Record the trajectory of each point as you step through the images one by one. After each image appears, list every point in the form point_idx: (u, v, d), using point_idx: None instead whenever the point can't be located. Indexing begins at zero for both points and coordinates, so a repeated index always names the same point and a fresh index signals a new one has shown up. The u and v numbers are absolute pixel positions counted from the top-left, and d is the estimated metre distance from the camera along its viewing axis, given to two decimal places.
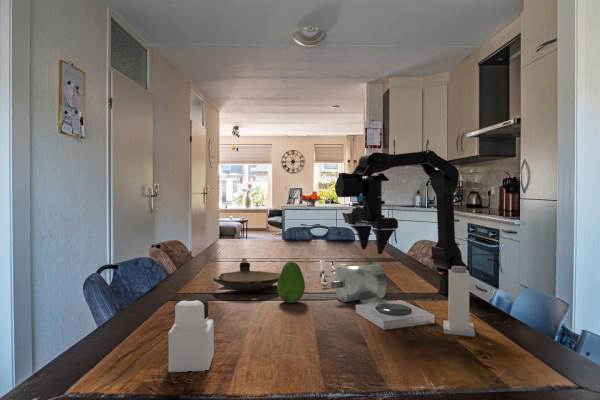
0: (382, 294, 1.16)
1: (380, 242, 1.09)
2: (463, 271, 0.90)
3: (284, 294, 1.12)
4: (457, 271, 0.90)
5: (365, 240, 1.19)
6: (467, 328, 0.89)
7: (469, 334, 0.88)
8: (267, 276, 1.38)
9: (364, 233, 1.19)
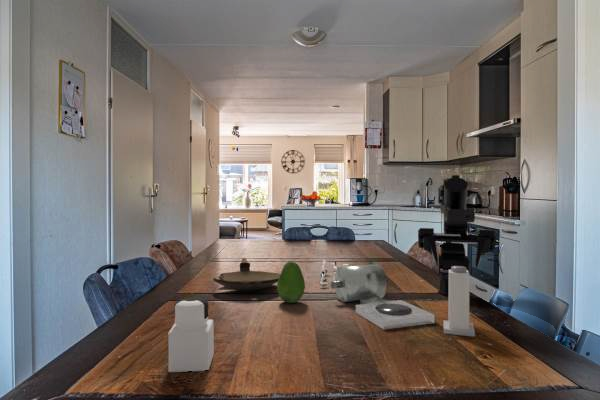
0: (382, 294, 1.16)
1: (481, 254, 0.99)
2: (463, 271, 0.90)
3: (284, 294, 1.12)
4: (457, 271, 0.90)
5: None
6: (467, 328, 0.89)
7: (469, 334, 0.88)
8: (267, 277, 1.38)
9: None
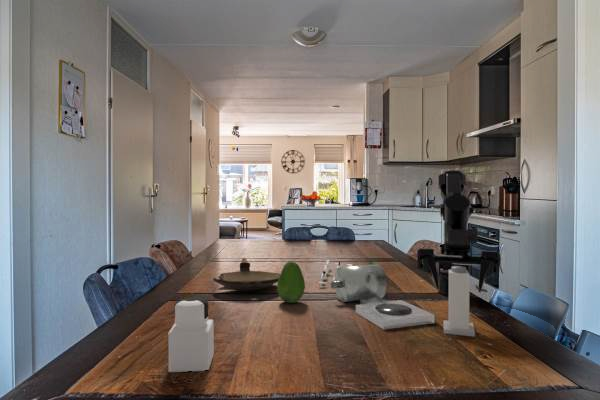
0: (382, 294, 1.16)
1: (484, 278, 0.93)
2: (463, 271, 0.90)
3: (284, 294, 1.12)
4: (457, 271, 0.90)
5: None
6: (467, 328, 0.89)
7: (469, 334, 0.88)
8: (267, 276, 1.38)
9: None
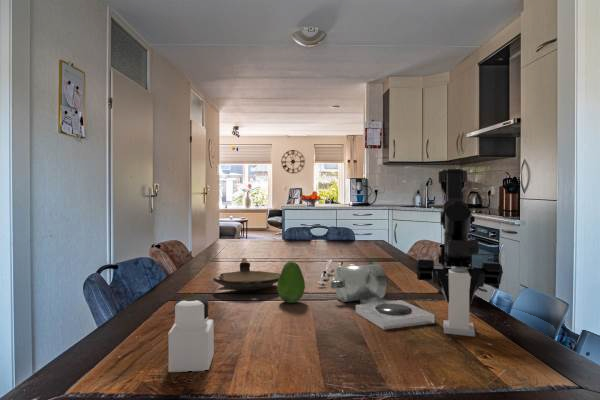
0: (382, 294, 1.16)
1: (474, 290, 0.91)
2: (463, 271, 0.90)
3: (284, 294, 1.12)
4: (457, 271, 0.90)
5: None
6: (467, 328, 0.89)
7: (469, 334, 0.88)
8: (267, 276, 1.38)
9: None
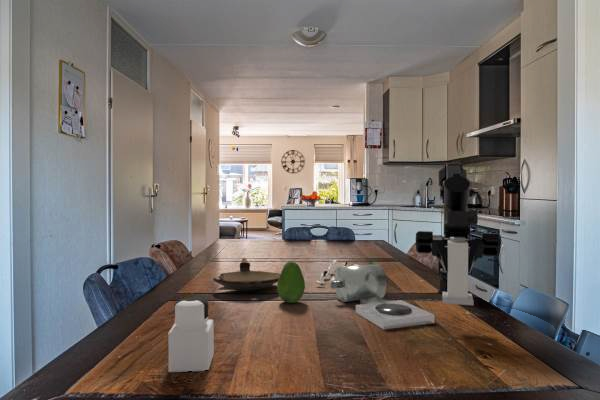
0: (382, 294, 1.16)
1: (473, 260, 0.91)
2: (462, 241, 0.90)
3: (284, 294, 1.12)
4: (456, 241, 0.90)
5: None
6: (466, 297, 0.89)
7: (468, 303, 0.88)
8: (267, 276, 1.38)
9: None
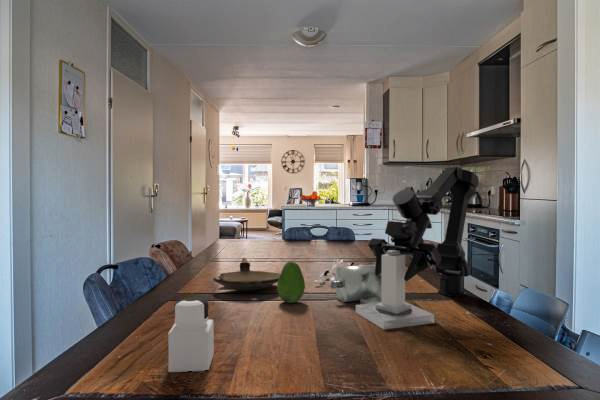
0: None
1: (413, 268, 0.97)
2: (393, 254, 0.99)
3: (284, 294, 1.12)
4: (388, 254, 1.00)
5: (381, 267, 1.04)
6: (394, 306, 0.98)
7: (393, 311, 0.97)
8: (267, 276, 1.38)
9: None
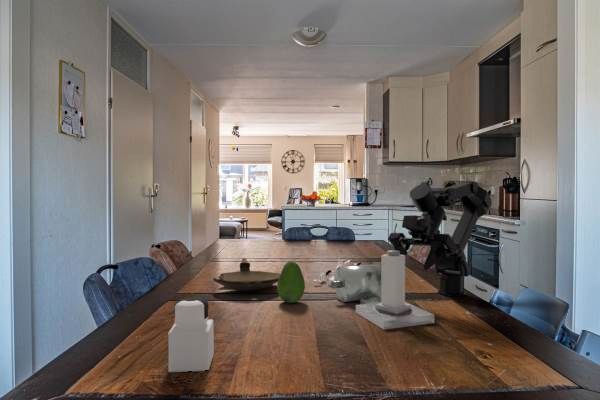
0: None
1: (432, 258, 1.04)
2: (393, 254, 0.99)
3: (284, 294, 1.12)
4: (388, 254, 1.00)
5: None
6: (394, 306, 0.98)
7: (393, 311, 0.97)
8: (267, 276, 1.38)
9: (401, 253, 1.13)
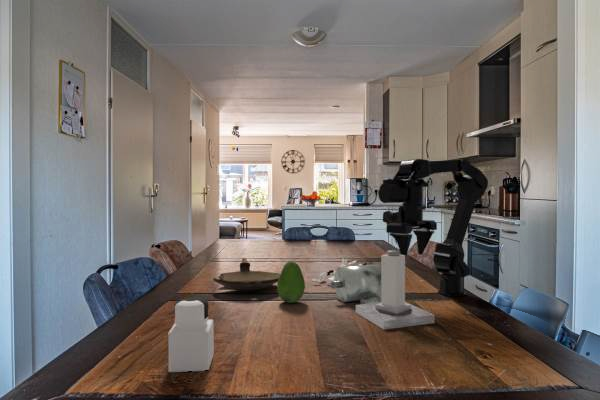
0: None
1: (400, 246, 1.13)
2: (393, 254, 0.99)
3: (284, 294, 1.12)
4: (388, 254, 1.00)
5: (422, 245, 1.19)
6: (394, 306, 0.98)
7: (393, 311, 0.97)
8: (267, 276, 1.38)
9: (421, 238, 1.19)
